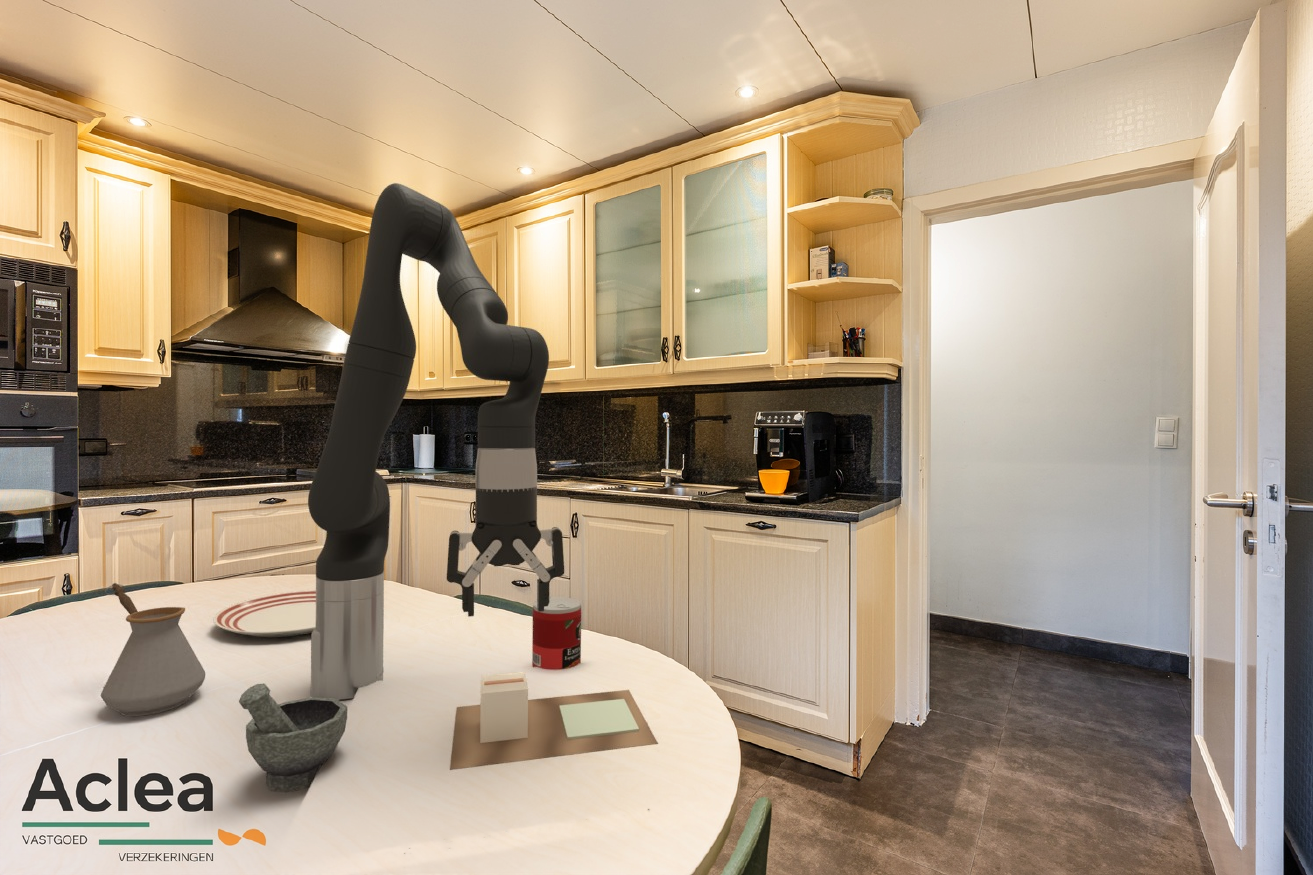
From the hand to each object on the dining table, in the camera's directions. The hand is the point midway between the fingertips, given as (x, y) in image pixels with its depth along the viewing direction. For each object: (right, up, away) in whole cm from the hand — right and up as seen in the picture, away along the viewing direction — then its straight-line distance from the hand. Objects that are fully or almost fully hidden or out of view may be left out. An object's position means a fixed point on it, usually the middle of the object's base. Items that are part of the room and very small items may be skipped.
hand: (506, 612), depth 78 cm
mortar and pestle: (-22, -16, -9) cm, 29 cm away
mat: (+11, -15, +3) cm, 19 cm away
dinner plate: (-54, -16, +47) cm, 73 cm away
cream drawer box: (0, -15, 0) cm, 15 cm away
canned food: (+3, -16, +24) cm, 29 cm away
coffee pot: (-56, -16, +12) cm, 59 cm away
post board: (+5, -16, +2) cm, 17 cm away
